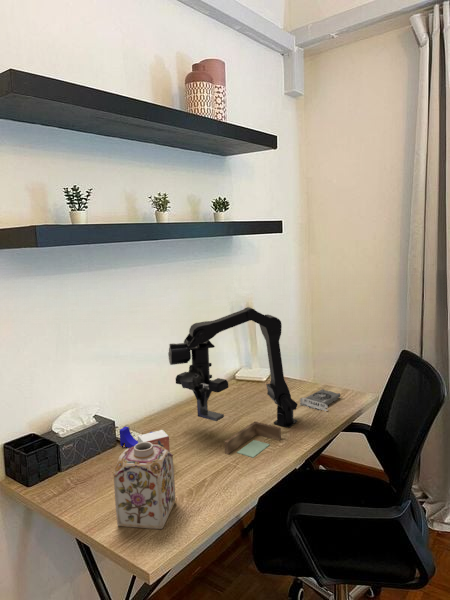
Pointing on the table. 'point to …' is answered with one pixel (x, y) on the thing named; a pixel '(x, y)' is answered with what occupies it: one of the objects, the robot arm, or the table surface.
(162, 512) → the decorative jar
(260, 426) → the corner walls
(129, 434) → the blue saddle bracket
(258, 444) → the mat
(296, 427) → the table surface
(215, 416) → the angle bracket
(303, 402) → the graphics card
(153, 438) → the small box
